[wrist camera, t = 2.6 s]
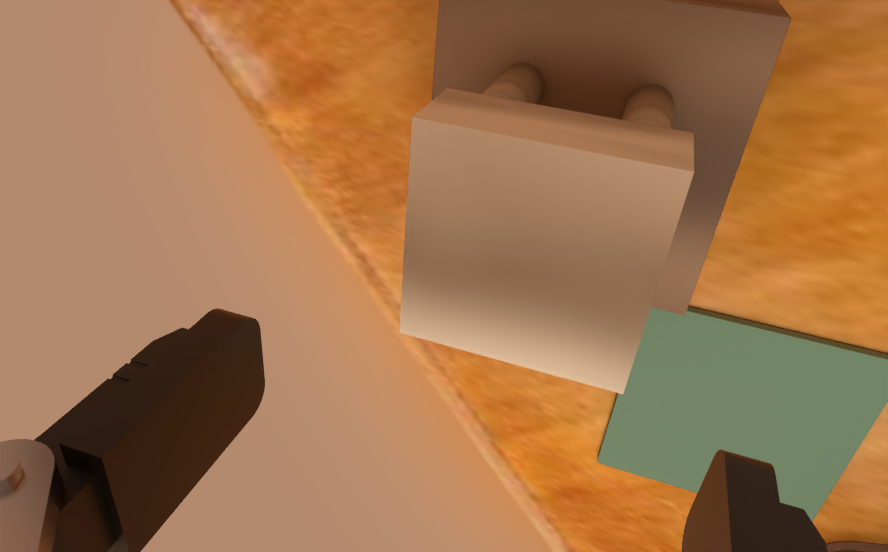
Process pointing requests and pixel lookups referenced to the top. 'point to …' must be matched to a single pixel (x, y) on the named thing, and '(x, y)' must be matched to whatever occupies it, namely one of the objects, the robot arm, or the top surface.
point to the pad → (744, 403)
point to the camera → (856, 547)
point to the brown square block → (633, 81)
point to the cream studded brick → (541, 226)
